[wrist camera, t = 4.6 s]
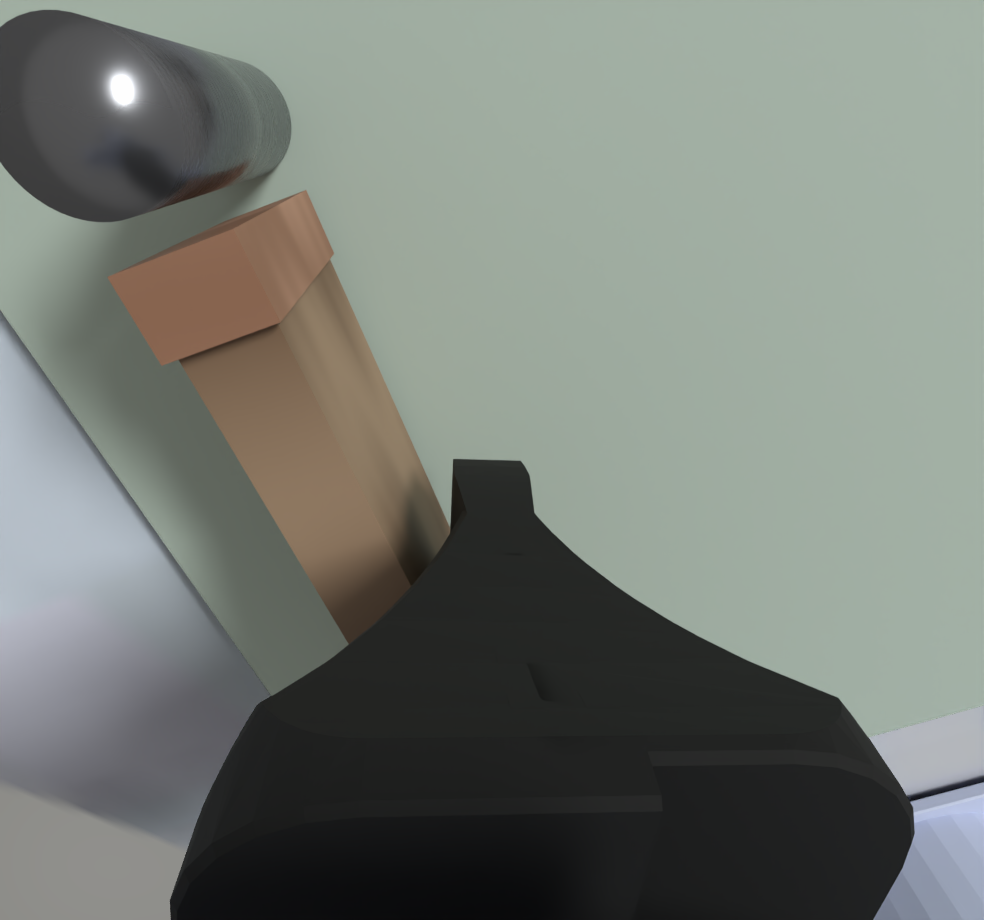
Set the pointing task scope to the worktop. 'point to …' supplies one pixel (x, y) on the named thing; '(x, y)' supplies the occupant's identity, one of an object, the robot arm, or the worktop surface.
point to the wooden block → (296, 399)
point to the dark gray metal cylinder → (128, 117)
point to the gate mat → (602, 309)
